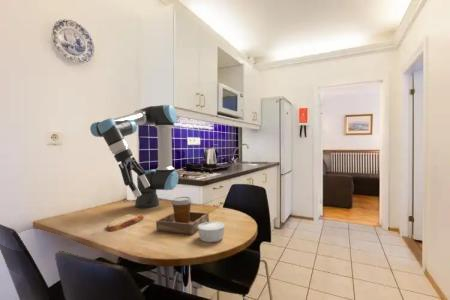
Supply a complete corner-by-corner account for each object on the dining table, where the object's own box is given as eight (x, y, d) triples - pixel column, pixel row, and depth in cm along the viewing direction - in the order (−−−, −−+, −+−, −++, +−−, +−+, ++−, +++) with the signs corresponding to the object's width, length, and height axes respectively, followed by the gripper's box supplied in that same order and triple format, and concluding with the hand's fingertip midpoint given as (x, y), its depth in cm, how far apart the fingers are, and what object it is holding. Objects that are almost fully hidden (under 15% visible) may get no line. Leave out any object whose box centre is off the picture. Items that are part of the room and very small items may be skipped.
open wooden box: (176, 219, 125) (176, 210, 125) (208, 222, 119) (208, 213, 119) (156, 231, 108) (156, 221, 108) (192, 234, 102) (192, 224, 102)
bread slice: (107, 233, 108) (106, 224, 108) (105, 222, 124) (105, 215, 124) (148, 226, 117) (148, 218, 117) (142, 217, 132) (141, 210, 132)
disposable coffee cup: (168, 226, 112) (168, 200, 112) (177, 220, 121) (176, 196, 121) (188, 227, 110) (187, 201, 110) (195, 220, 119) (194, 196, 119)
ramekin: (210, 231, 106) (210, 219, 106) (230, 236, 99) (230, 224, 99) (192, 239, 98) (191, 226, 98) (212, 246, 91) (212, 232, 90)
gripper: (124, 150, 123) (144, 186, 126) (100, 160, 98) (126, 204, 102) (137, 144, 123) (157, 180, 126) (117, 152, 98) (142, 197, 101)
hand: (143, 191), depth 114 cm, fingers open, 13 cm apart
